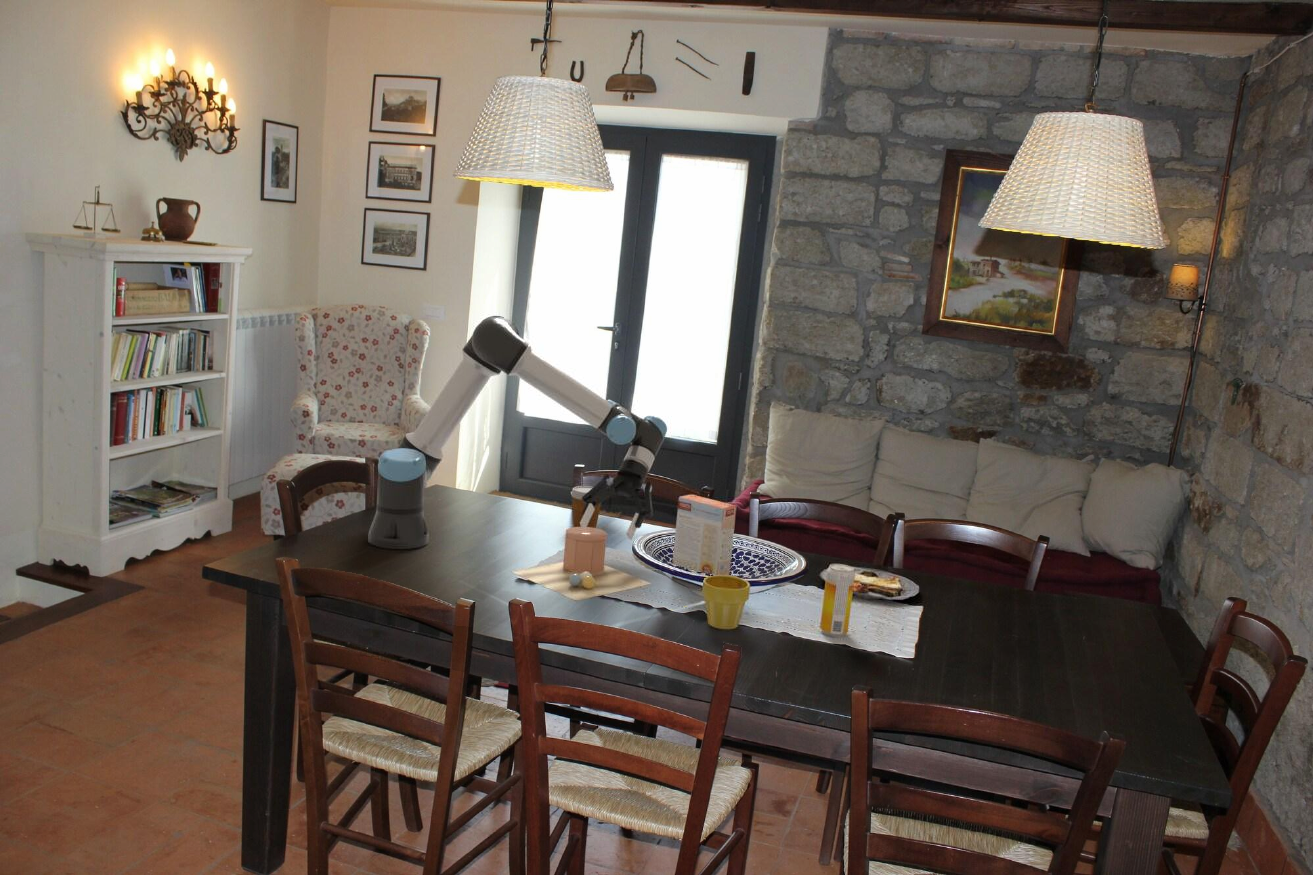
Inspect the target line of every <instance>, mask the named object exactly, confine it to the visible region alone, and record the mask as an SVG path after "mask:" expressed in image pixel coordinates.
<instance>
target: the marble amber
mask: <svg viewBox="0 0 1313 875" xmlns="http://www.w3.org/2000/svg"><path fill="white" fill-rule="evenodd" d="M582 584H583V586H584V587H585V588H586V589H591V588H593V587H594V585H595V580H594V578H593V577H591V576H586V577H584V579H583V581H582Z"/></svg>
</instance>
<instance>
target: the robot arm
mask: <svg viewBox="0 0 1313 875" xmlns="http://www.w3.org/2000/svg"><path fill="white" fill-rule="evenodd" d="M461 351H462V356H463V357H462V360H461V362H460V363H459V365H458V366H457V368H456V370H455V371H454V372H453V373H452V375H451V376H450V377H449V378H450V379H449V380H448V381H447V382H446V384H445V385H444V387H443V388H442V390H441V392H440V393H439V394H438V396H437V398H436V400H435V401H434V402H433V403H432V405H431V406H430V408H429V410H428V411H427V413H426V414H425V415H424V417H423V418H422V420H421V422H420V423H419V425H418V426H417V427H416V428H415V431H413V432H409V433H407V432H406V433H405V435H404V436H403V437H402V439H401V441H400V442H399V443H398V446H396V448H391V449H388V450H385V451H384V452H382V453H381V454H380V456H379V458H378V459H379V460H378V464H377V472H378V473H377V476H378V477H377V492H376V493H377V494H376V510H375V511H376V512H375V514H374V517H373V521H372V523H371V525H370V528H369V530H368V536H367V537H368V538H367V542H368V543H369V544H370V543H371V544H370V545H371V546H374V545H375V546H374V547H377V548H383V549H387V550H388V549H390V550H410V549H417V548H421V547H425V546H426V545H428V543H429V537H430V536H429V531H428V530H429V529H428V526H427V523H426V520H425V519H426V518H425V516H424V503H425V502H424V501H425V500H424V498H425V497H424V496H425V487H426V484H427V483H428V481H429V480H430V479H431V477H432V475H433V473H435V471H436V469H437V468H438V466H439V464H440V463H441V461H442V460H443V459H444V452H443V448H444V447H445V446H446V444H447V442H448V441H449V439H450V438H451V437H452V435H453V434H454V432H455V431H456V429H457V428H458V426H459V425H460V423H461V422H462V421H463V418H464V417H465V416H466V414H467V413H468V411H469V409H470V408H471V407H472V405H473V404H474V402H475V400H477V398H478V396H479V395H480V394H481V392H482V391H483V390H484V387H485V386H486V384H487V383H488V381H489V380H490V379H491V377H494V376H499V375H500V374H501V372H503V373H504V374H506V375H508V376H510V377H511V376H516V377H518V378H519V379H521V380H522V381H524V383H527V384H528V385H530V386H532V387H533V388H534V389H536V390H537V391H539V392H541V393H542V394H543V395H545V396H546V397H548V398H549V399H551V400H553V401H554V402H555V403H556V404H559V405H560V406H562V407H563V408H565V409H566V410H568V411H569V412H571V413H572V414H574V415H575V416H577V417H578V418H580V419H581V420H583V421H585V422H586V423H588V424H589V425H591V426H592V427H593V428H595V429H596V430H598V431H599V432H600V433H602V434H604V435H605V436H607V438H608V439H609V440H610V442H612V443H614V444H616V445H627V444H630V445H629V449H628V451H627V453H626V454H625V456H624V459H623V460H622V462H621V464H620V466H619V469H618V470H617V475H616V476H615V477H611V476H610V475H609V474H605V475H603V477H602V479H601V480H599V482H598V483H597V484H595V485H594V486H592V487H593V488H592V489H591V490H590V491H589V492H587V493H586V494H585V495H584V496H583V497H582V500H583V502H584V504H585V507H584V510H583V512H582V514H583V518H582V520H581V522H580V525H581V527H587V525H588V523H589V520H590V518H591V516H592V514H593V512H594V510H595V509H594V506H596V505H598V504H600V503H601V504H602V503H603V502H604V501H607V500H608V499H610V498H611V497H616V496H621V497H625V498H630V497H632V498H633V501H634V503H635V505H636V507H637V511H638V512H635V513H634V515H633V518H632V520H631V522H630V525H629V527H628V529H627V531H626V536H627V538H628V540H633V538H634V535H635V534H636V533H635V532H637V529H640V528H642V525H643V522H644V520H645V519H646V518H649V519H652V518H653V517H654V513H653V512H654V511H653V502H652V492H653V487H652V484H651V482H650V481H649V482H646V483H645V481H646V478H647V477H648V475H649V472H650V470H651V468H652V466H653V463H654V461H655V459H656V457H657V455H658V453H659V450H660V448H661V446H662V444H663V443H664V441H665V438H666V437H665V436H666V434H667V431H668V426H667V424H666V423H665V421H664V420H663V419H661V418H660V417H658V416H657V417H655V415H647V416H645V417H644V418H641V417H639V416H638V415H637V414H635V413H634V412H631V411H630V410H629V409H627V408H625V407H624V406H622V405H621V404H619V403H618V402H615V401H613V400H611V399H607V400H605V399H604V398H603V397H601V396H600V395H599V394H597V393H595V392H594V391H593V390H591V389H590V388H588V387H587V386H585V385H584V384H582V383H581V382H579V381H578V380H576V379H575V378H573V377H572V376H570V375H569V374H567V373H566V372H565V371H563V370H561V369H560V368H559V367H557V366H556V365H554V364H552V363H551V362H549V361H548V360H547V359H545V358H543V357H542V356H541V355H539V354H538V353H536V352H535V351H533V349H532V346H531V344H530V343H529V342H527V341H526V340H524V339H523V338H522V337H521V336H520V332H519V329H518V327H517V326H516V325H515V323H514V322H512V321H511V320H510V319H508V318H506V317H505V316H500V315H491V316H488V317H486V318H484V319H482V321H481V322H479V323H478V325H476V326H475V328H474V330H473V333H472V335H471V336H470V338H469V339H468V341H467V342H466V344H464V347H463V348H462V349H461ZM642 490H643V492H644V501H645V510H644V509H643V506H642V503H641V501H640V498H639V496H638V493H639V492H640V491H642Z"/></svg>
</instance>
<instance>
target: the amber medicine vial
mask: <svg viewBox="0 0 1313 875" xmlns="http://www.w3.org/2000/svg"><path fill="white" fill-rule="evenodd" d="M852 567H853V566H850V565H848V564H842V563H831V564H830V565H829V567H828V568H826V569H827V574H826V582H825V581H824V583H825V584H824V592H823V602H822V608H821V614H820V615H821V616H820V623H819V624H820V625H819V628H820V630H821V632H822V633H823V634H825V635H827V636H830V637H833V638H834V637H835V638H838V637H839V638H840V637H844V636H846V634H847V633H848V631H849V624H850V617H851V610H852V609H851V608H852V601H853V595H854V594H853V587H854V579H855V573H854V568H852Z"/></svg>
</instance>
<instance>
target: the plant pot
mask: <svg viewBox="0 0 1313 875" xmlns="http://www.w3.org/2000/svg"><path fill="white" fill-rule="evenodd" d="M701 587H702V586H701ZM750 591H751V584H750V582H749V581H748V580H746V579H744V578H741V577H737V576H733V575H729V576H727V575H713V576H708V577H706V578H704V580H703V587H702V592H701V594H702V597H703V598H704V601H705V608H706V609H705V610H706V617H707V624H708V625H709V626H711V627H712V628H715V629H719V630H733V629H734V630H735V629H736V628H738V627H739V624H740V620H741V617H742V614H743V610H744V607H745V604H746V602H748V600H749V598H750Z"/></svg>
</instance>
